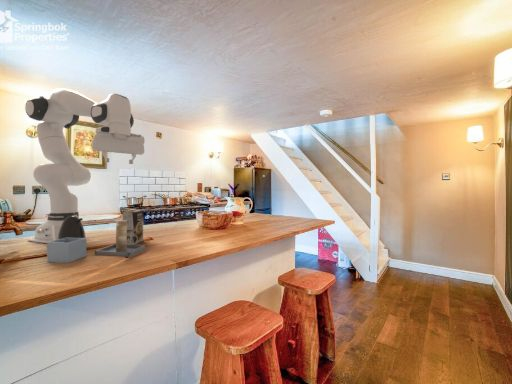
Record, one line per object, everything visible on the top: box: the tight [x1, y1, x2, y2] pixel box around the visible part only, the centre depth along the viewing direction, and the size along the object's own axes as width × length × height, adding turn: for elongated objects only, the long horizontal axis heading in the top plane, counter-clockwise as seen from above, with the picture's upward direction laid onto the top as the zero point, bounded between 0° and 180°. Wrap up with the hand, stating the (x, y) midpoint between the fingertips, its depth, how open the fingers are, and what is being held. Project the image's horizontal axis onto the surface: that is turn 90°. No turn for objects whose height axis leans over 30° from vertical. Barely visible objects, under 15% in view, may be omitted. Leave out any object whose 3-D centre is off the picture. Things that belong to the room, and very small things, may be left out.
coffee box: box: [122, 210, 144, 245], centre depth 123 cm, size 9×6×16 cm
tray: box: [94, 243, 147, 259], centre depth 105 cm, size 15×12×2 cm
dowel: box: [115, 219, 127, 252], centre depth 105 cm, size 4×4×13 cm
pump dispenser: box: [57, 216, 87, 240], centre depth 108 cm, size 10×10×15 cm
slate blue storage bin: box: [46, 237, 87, 264], centre depth 93 cm, size 8×8×8 cm
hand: (119, 163), depth 108 cm, fingers open, 8 cm apart
